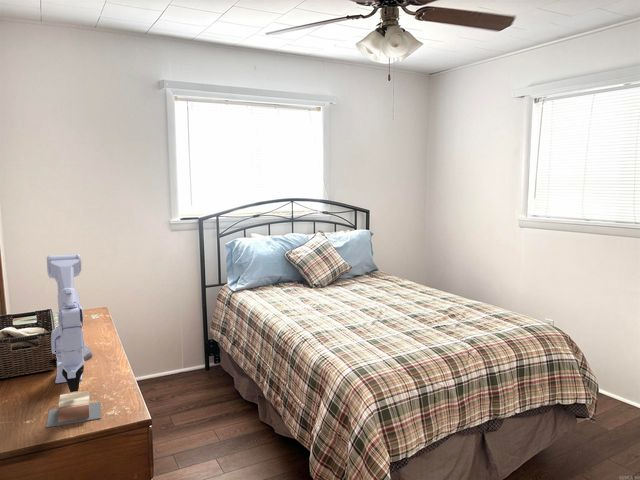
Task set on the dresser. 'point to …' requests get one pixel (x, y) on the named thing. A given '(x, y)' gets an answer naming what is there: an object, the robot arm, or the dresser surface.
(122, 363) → the dresser surface
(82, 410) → the birch block
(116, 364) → the dresser surface
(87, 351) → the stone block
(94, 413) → the mat
